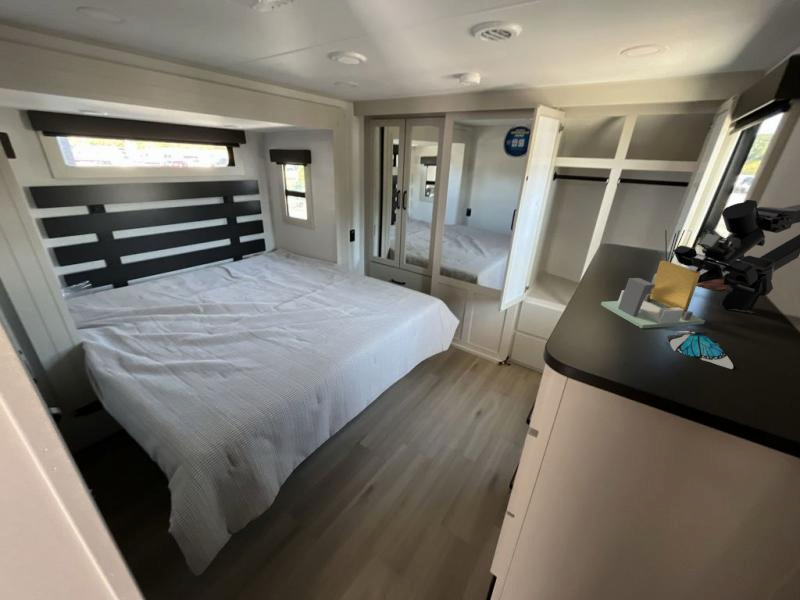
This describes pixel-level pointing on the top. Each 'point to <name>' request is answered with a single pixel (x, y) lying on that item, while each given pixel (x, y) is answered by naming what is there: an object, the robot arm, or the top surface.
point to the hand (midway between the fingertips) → (685, 284)
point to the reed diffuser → (670, 250)
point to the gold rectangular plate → (674, 286)
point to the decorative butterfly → (699, 347)
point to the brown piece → (713, 284)
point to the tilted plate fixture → (647, 308)
